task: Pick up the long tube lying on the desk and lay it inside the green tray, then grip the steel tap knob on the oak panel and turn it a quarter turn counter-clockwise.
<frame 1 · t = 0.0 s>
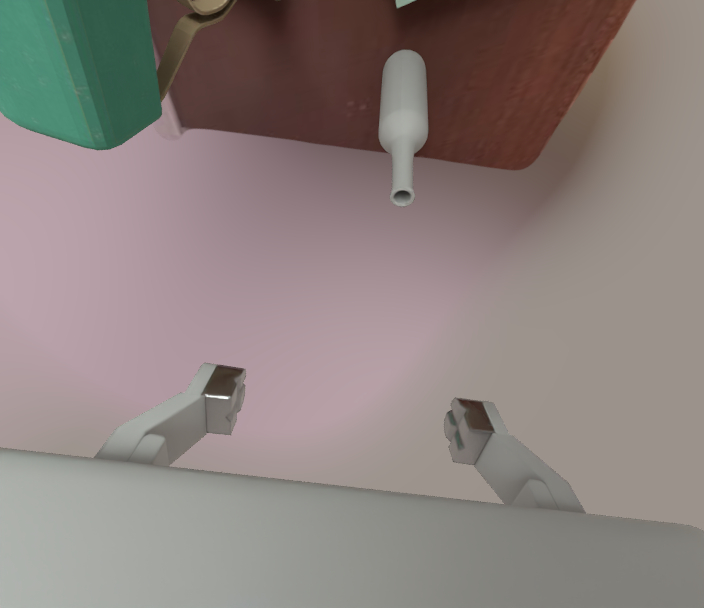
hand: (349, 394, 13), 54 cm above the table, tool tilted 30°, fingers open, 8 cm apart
bottle: (404, 73, 53), on the table
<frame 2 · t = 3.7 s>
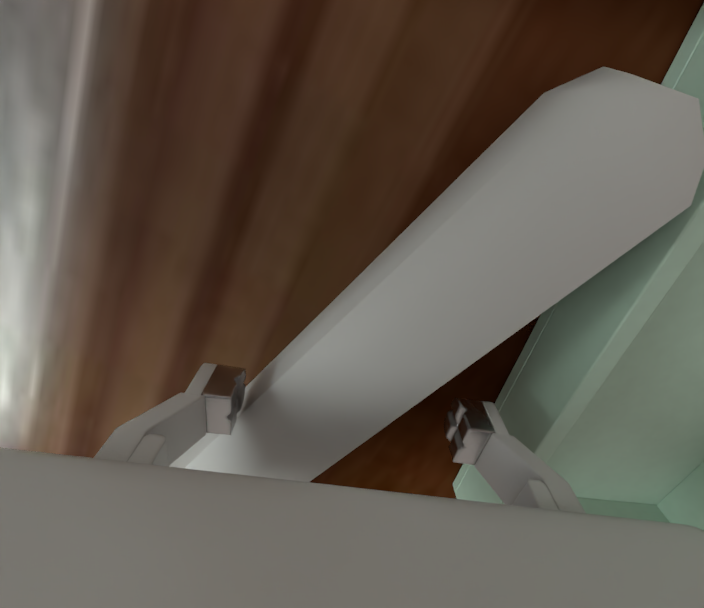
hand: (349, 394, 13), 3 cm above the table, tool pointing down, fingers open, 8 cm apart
tube: (344, 336, 16), on the table
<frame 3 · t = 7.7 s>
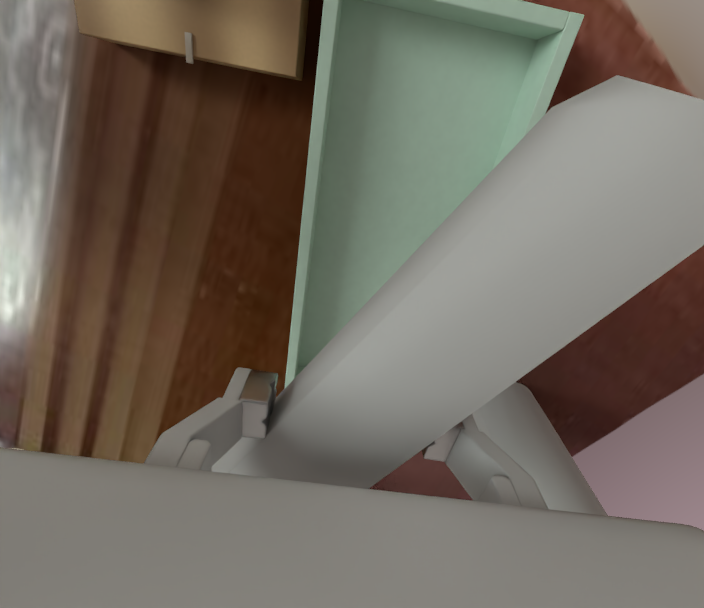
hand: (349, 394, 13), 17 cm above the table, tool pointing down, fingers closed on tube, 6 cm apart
bottle: (500, 403, 37), on the table
tube: (354, 364, 15), point 15 cm above the table, touching gripper
green tray: (389, 238, 28), on the table
when the fingers open (5 cm above the table, at t = 10.8 s): tube stays where it is, resting on green tray.
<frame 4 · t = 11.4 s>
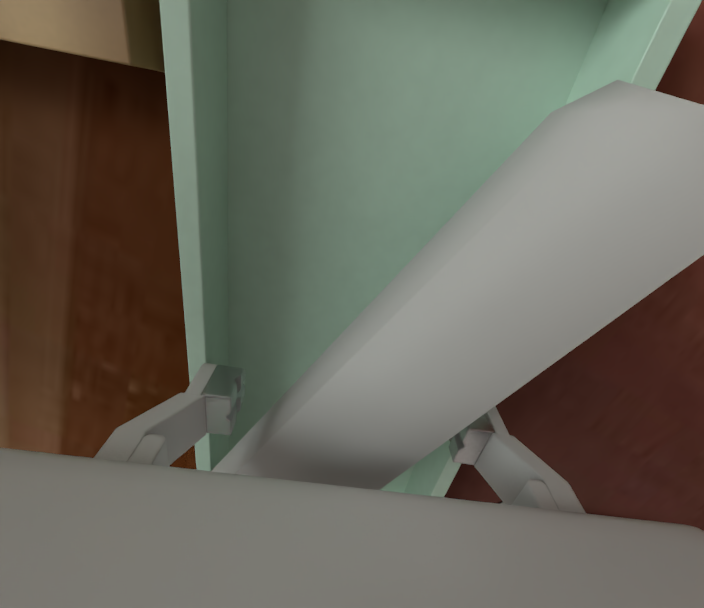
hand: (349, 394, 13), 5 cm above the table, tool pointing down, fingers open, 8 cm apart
tube: (352, 370, 15), point 3 cm above the table, touching green tray
green tray: (349, 323, 18), on the table
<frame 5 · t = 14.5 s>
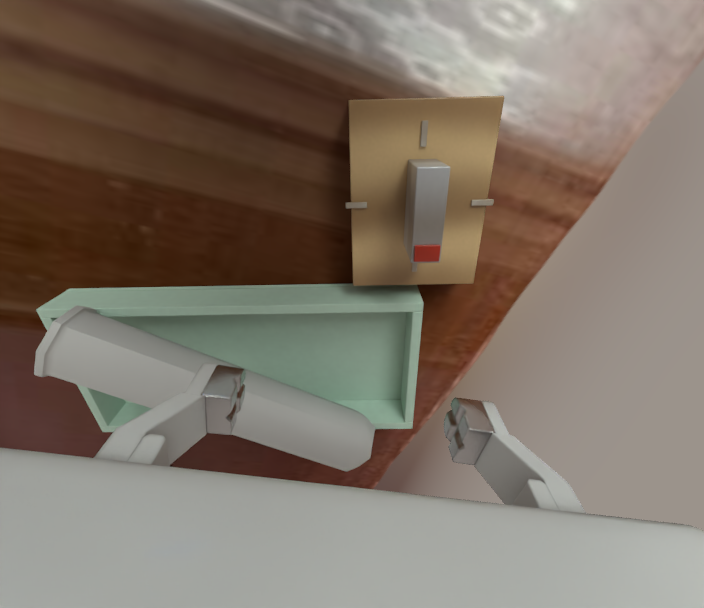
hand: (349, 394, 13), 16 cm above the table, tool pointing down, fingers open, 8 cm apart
tube: (242, 375, 29), point 3 cm above the table, touching green tray
tap knob: (424, 211, 21), point 5 cm above the table, hinge at 0.0°
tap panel: (412, 194, 25), on the table
green tray: (254, 349, 32), on the table
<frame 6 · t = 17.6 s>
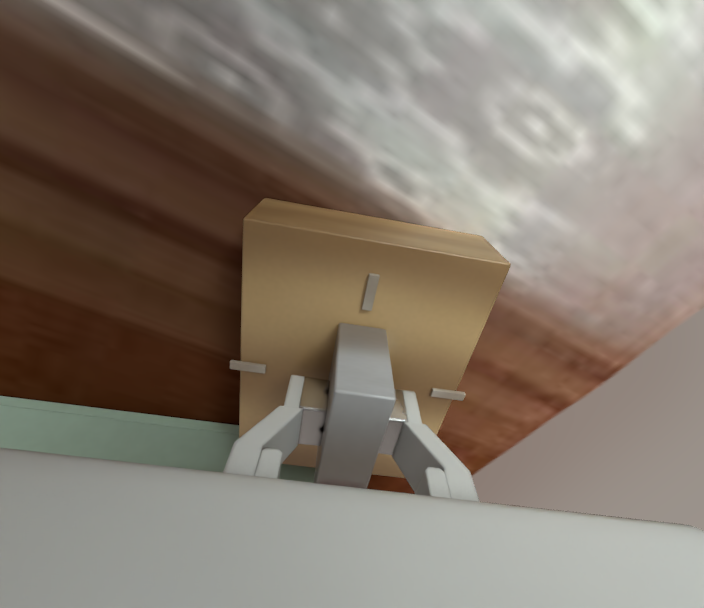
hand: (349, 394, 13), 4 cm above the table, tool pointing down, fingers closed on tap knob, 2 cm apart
tap knob: (349, 416, 12), point 5 cm above the table, hinge at -0.1°, touching gripper
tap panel: (350, 337, 17), on the table
green tray: (103, 479, 22), on the table
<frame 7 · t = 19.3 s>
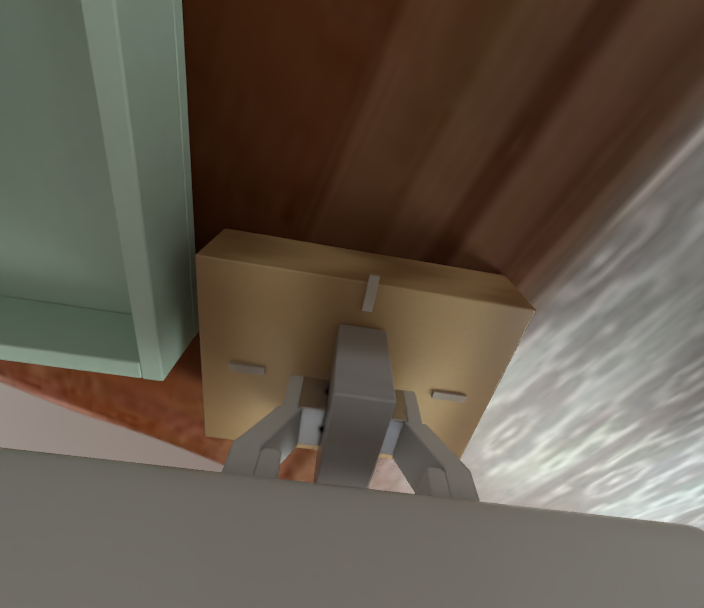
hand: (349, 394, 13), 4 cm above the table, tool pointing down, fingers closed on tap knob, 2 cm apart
tap knob: (349, 419, 12), point 5 cm above the table, hinge at 90.0°, touching gripper
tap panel: (351, 338, 17), on the table
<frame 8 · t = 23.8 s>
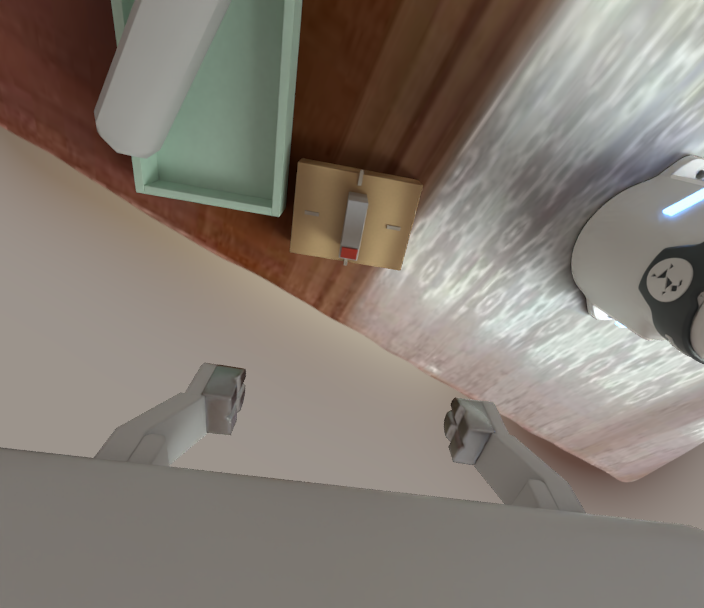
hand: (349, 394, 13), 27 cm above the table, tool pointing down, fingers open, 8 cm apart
tube: (201, 6, 26), point 3 cm above the table, touching green tray
tap knob: (353, 226, 33), point 5 cm above the table, hinge at 89.9°
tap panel: (353, 212, 37), on the table
green tray: (219, 20, 29), on the table
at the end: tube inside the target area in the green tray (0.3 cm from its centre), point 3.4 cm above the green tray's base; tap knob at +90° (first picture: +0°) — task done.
